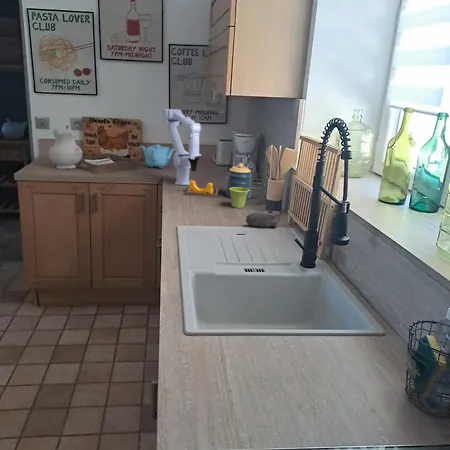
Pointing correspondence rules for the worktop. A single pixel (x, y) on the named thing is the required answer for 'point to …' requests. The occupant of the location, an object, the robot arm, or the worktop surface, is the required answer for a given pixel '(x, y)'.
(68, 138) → the ceramic pitcher
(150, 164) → the teakettle
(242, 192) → the plant pot
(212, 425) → the worktop surface
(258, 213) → the perforated stone tool
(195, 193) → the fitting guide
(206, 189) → the pipe clamp
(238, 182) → the canister
